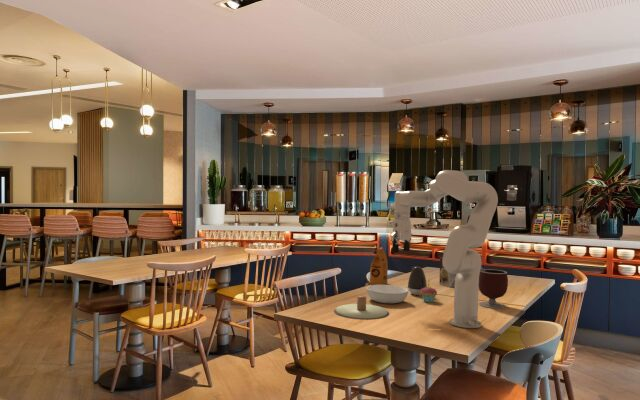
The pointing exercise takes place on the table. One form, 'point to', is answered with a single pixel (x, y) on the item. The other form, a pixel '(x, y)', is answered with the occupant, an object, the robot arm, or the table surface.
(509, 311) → the table surface
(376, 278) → the coffee package
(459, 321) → the robot arm
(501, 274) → the mate gourd
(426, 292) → the cupcake
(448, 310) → the table surface
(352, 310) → the lid
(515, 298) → the table surface
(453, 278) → the coffee box
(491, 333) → the table surface
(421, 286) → the smart speaker
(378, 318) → the mat
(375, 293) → the serving bowl
